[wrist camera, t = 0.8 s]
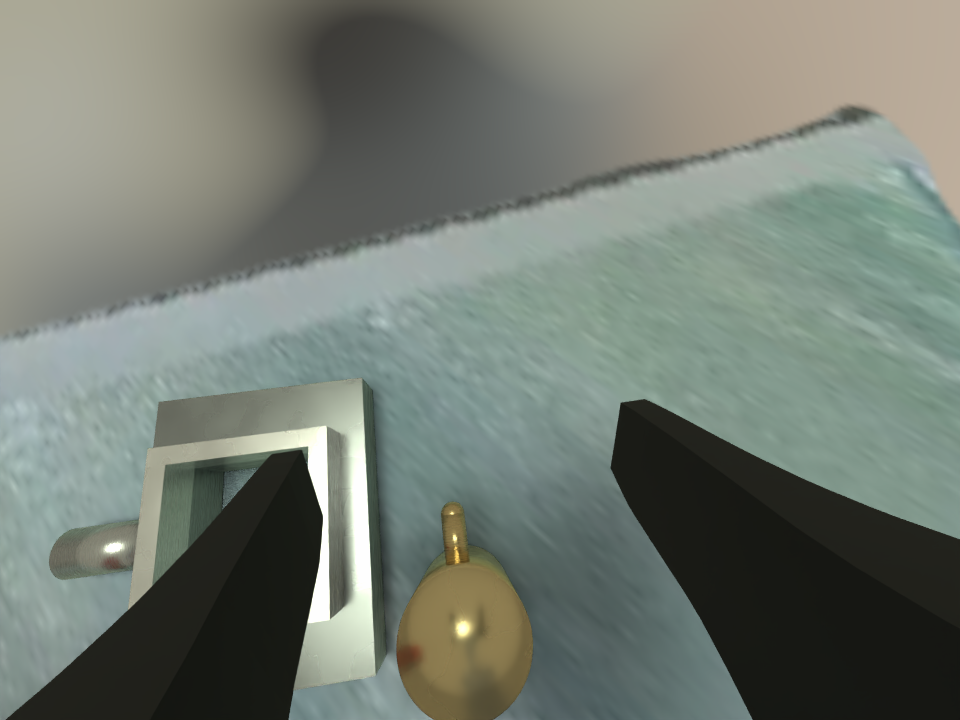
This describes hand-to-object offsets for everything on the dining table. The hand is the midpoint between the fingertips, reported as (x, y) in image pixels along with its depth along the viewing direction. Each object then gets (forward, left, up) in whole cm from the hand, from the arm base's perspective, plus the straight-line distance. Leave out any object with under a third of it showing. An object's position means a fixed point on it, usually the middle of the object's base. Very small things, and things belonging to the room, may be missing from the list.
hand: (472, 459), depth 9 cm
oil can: (-4, +1, -13) cm, 14 cm away
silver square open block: (-1, +12, -13) cm, 18 cm away
